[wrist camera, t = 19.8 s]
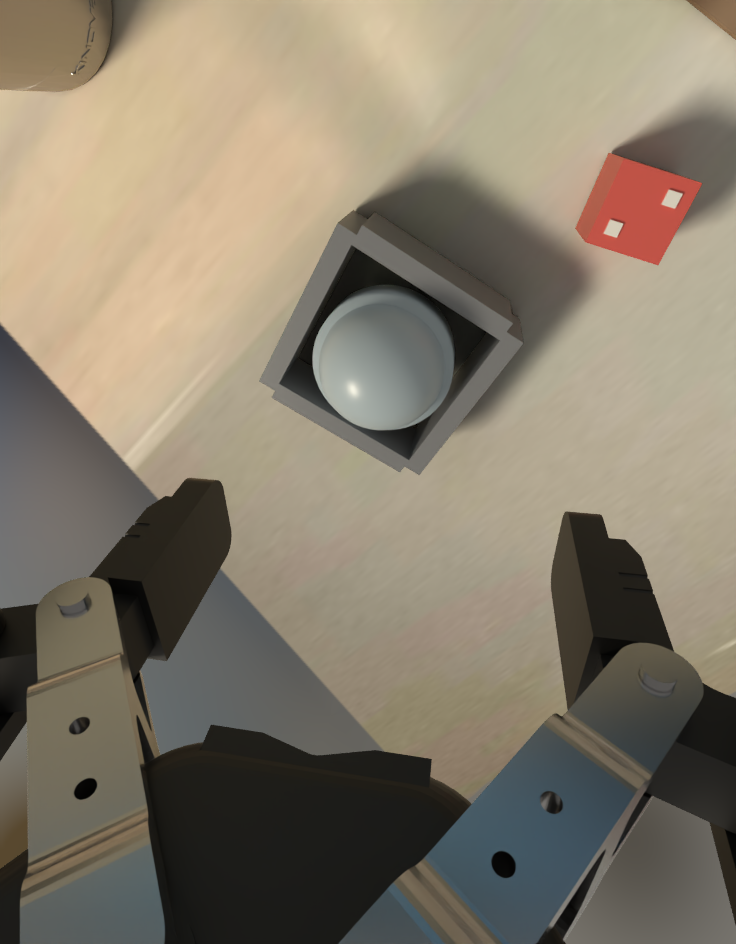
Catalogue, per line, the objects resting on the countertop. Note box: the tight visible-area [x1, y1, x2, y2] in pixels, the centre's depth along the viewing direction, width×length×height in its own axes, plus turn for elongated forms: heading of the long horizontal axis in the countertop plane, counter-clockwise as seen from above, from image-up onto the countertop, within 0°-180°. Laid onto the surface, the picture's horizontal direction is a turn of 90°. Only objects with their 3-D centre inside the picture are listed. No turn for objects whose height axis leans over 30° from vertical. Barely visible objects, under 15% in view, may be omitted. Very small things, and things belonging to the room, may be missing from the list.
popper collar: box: [259, 210, 523, 475], centre depth 37 cm, size 12×12×4 cm
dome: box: [313, 285, 455, 430], centre depth 34 cm, size 9×9×8 cm
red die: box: [575, 153, 702, 265], centre depth 30 cm, size 4×4×4 cm
